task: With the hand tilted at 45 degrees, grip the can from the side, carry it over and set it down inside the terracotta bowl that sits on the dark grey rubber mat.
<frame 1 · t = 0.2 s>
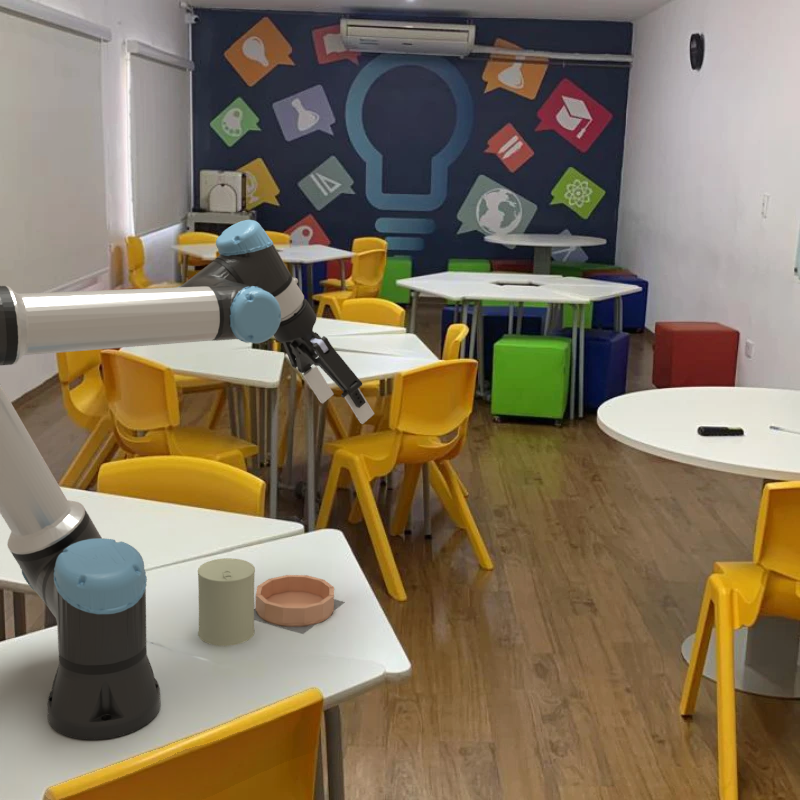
hand: (346, 408, 166), 35 cm above the table, tool tilted 35°, fingers open, 13 cm apart
bowl: (295, 609, 169), resting on mat
can: (226, 635, 160), on the table
mat: (295, 611, 169), on the table
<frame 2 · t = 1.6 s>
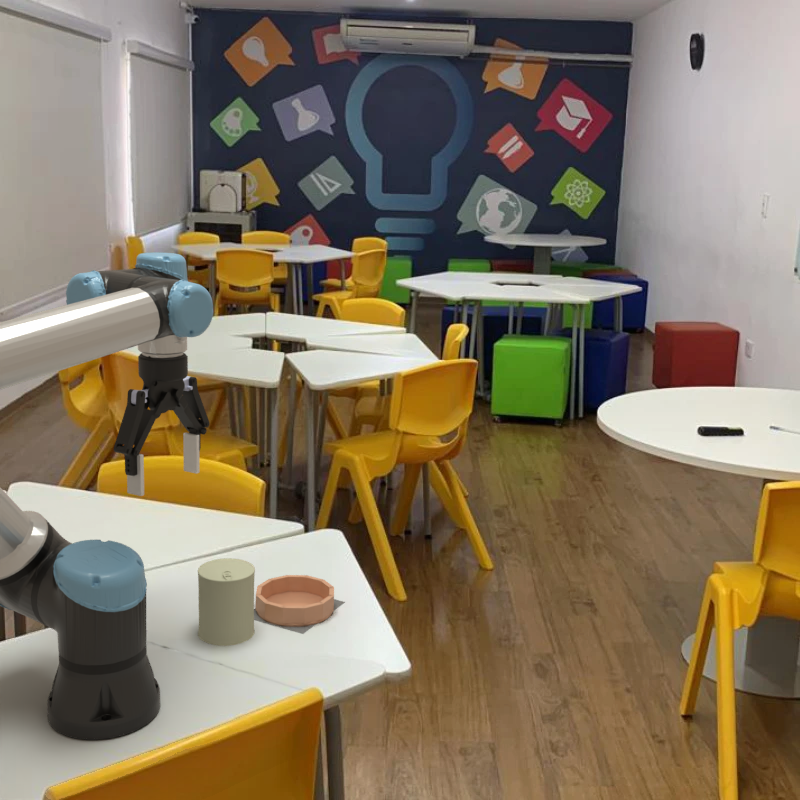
hand: (164, 482, 157), 25 cm above the table, tool pointing down, fingers open, 13 cm apart
nothing on the table moved.
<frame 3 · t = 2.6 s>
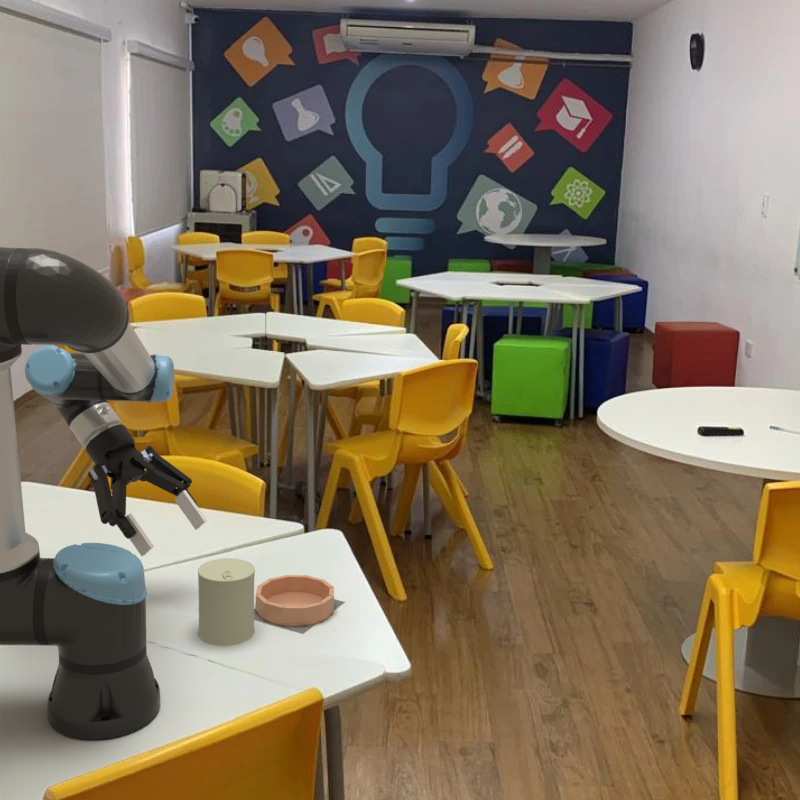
hand: (175, 538, 161), 15 cm above the table, tool tilted 45°, fingers open, 13 cm apart
nothing on the table moved.
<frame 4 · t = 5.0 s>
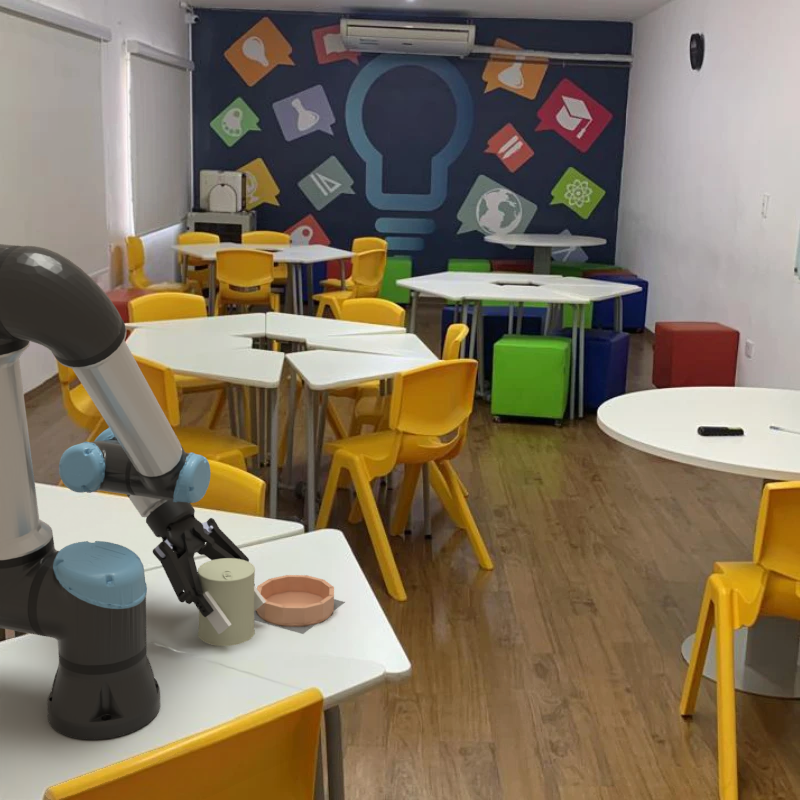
hand: (242, 617, 158), 4 cm above the table, tool tilted 45°, fingers closed on can, 9 cm apart
can: (226, 635, 160), on the table, touching gripper
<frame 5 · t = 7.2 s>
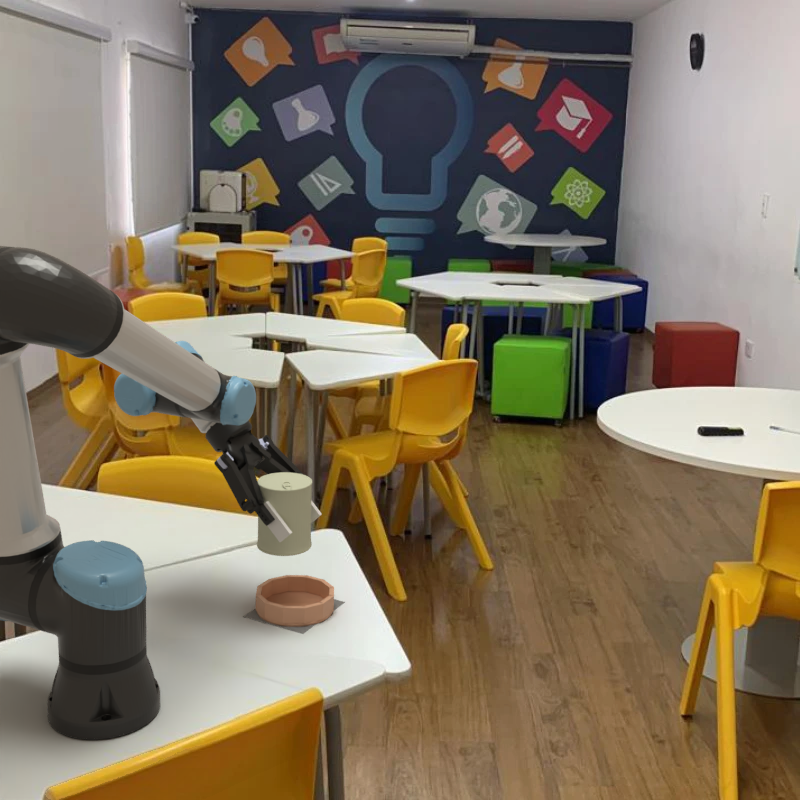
hand: (301, 527, 163), 16 cm above the table, tool tilted 45°, fingers closed on can, 9 cm apart
can: (284, 546, 165), point 12 cm above the table, touching gripper
when the fingers open (6 cm above the table, at t = 9.7 s): can drops 1 cm, resting on bowl.
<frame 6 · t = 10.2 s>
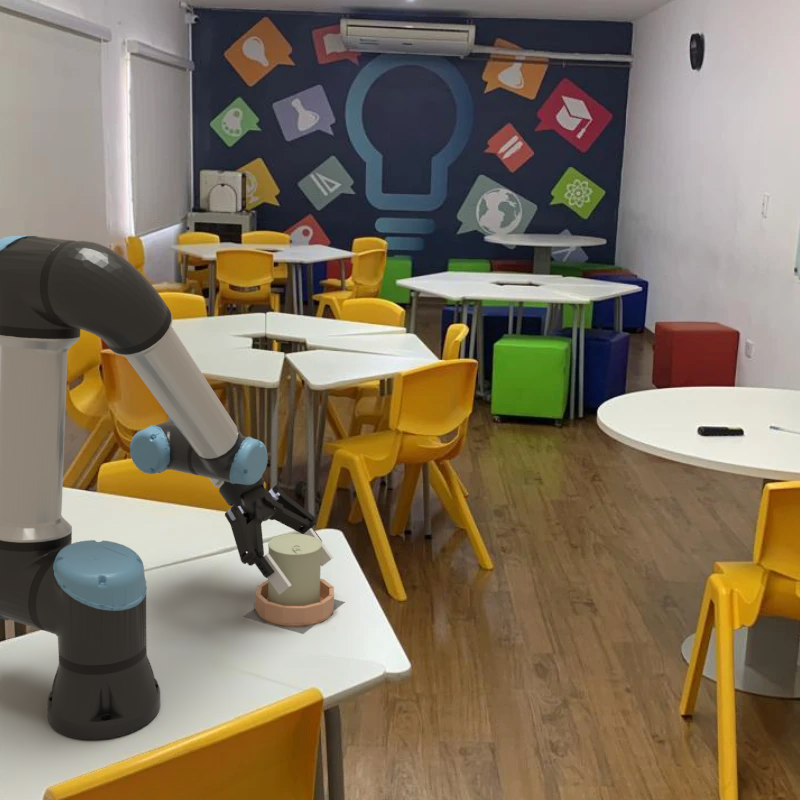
hand: (307, 575, 167), 7 cm above the table, tool tilted 45°, fingers open, 13 cm apart
can: (293, 606, 169), point 1 cm above the table, touching bowl
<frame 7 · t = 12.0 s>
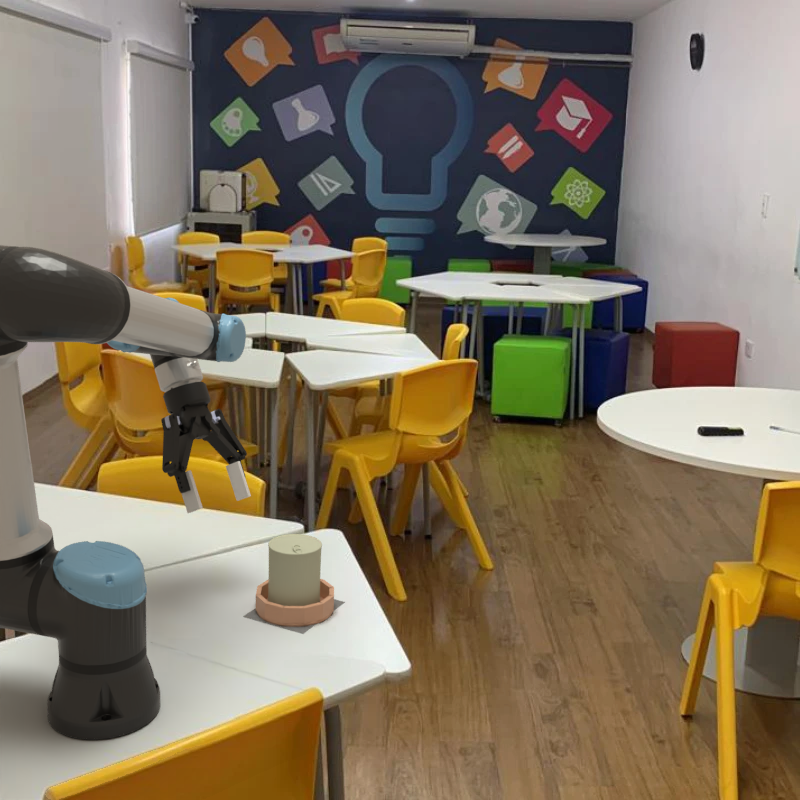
hand: (220, 504, 166), 19 cm above the table, tool tilted 30°, fingers open, 13 cm apart
nothing on the table moved.
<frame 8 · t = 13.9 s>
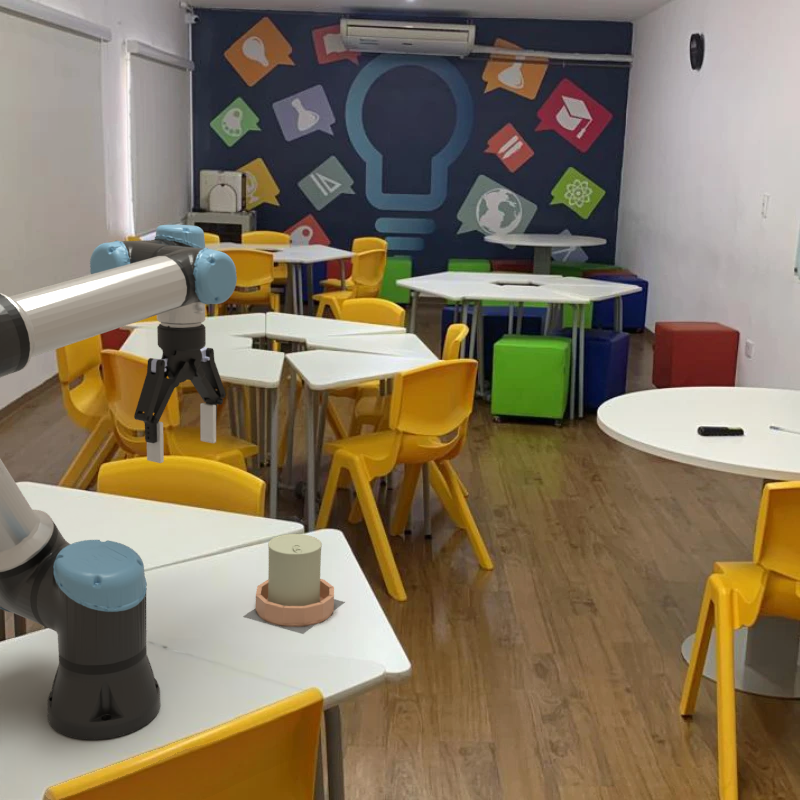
hand: (182, 451, 161), 29 cm above the table, tool pointing down, fingers open, 13 cm apart
nothing on the table moved.
at the end: can 0.2 cm from the bowl (horizontally); can tilted 0°; the gripper is holding nothing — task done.
